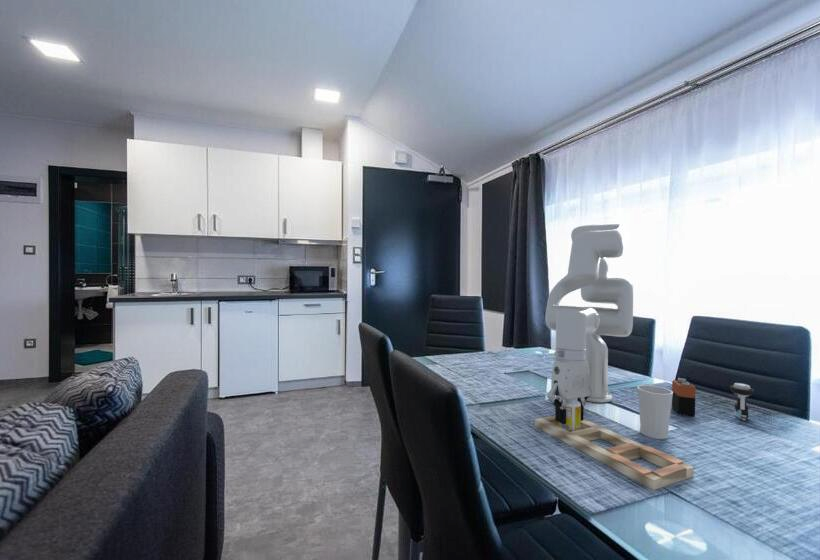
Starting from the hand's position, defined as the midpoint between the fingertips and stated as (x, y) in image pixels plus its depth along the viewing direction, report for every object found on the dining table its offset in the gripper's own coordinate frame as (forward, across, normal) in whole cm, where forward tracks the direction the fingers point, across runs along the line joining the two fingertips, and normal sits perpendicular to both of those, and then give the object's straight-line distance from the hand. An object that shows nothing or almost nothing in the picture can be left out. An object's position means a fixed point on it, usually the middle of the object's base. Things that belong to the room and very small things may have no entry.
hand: (569, 419), depth 99 cm
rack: (+3, 0, -10) cm, 11 cm away
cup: (+3, +20, -10) cm, 23 cm away
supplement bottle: (+3, 0, 0) cm, 3 cm away
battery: (+3, +45, -3) cm, 45 cm away
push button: (+3, +56, -13) cm, 58 cm away
